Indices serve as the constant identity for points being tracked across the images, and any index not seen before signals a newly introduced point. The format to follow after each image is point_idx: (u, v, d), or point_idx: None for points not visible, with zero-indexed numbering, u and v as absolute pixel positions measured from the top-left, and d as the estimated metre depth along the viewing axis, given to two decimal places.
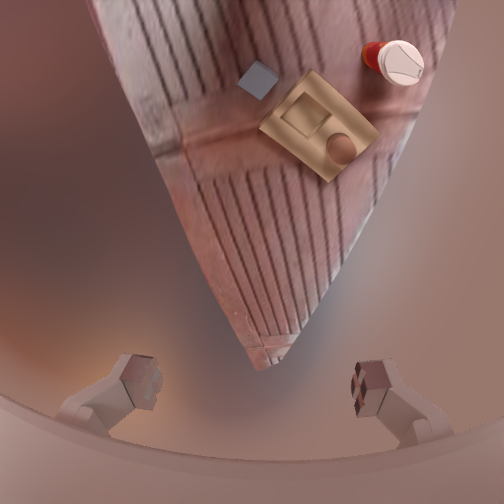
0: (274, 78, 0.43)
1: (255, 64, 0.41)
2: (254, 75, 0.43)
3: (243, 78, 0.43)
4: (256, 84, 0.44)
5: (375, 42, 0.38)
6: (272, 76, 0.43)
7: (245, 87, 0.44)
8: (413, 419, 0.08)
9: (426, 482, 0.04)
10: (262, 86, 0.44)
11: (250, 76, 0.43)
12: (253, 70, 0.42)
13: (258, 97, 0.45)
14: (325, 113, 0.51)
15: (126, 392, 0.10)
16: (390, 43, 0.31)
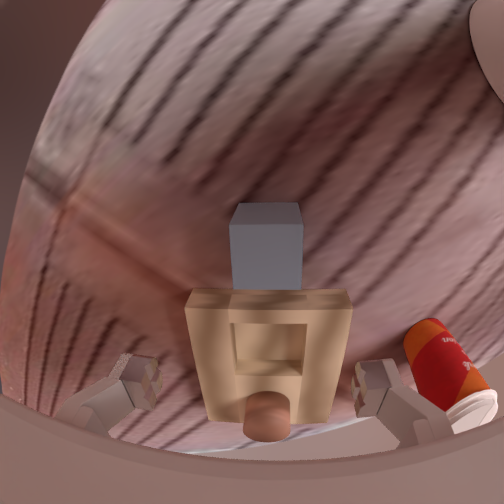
0: (297, 281, 0.21)
1: (299, 229, 0.20)
2: (275, 243, 0.20)
3: (251, 228, 0.20)
4: (258, 260, 0.21)
5: (450, 335, 0.26)
6: (298, 275, 0.21)
7: (235, 246, 0.21)
8: (413, 419, 0.08)
9: (426, 482, 0.04)
10: (262, 273, 0.21)
11: (266, 239, 0.20)
12: (282, 234, 0.20)
13: (236, 281, 0.22)
14: (292, 356, 0.31)
15: (126, 392, 0.10)
16: (488, 392, 0.17)
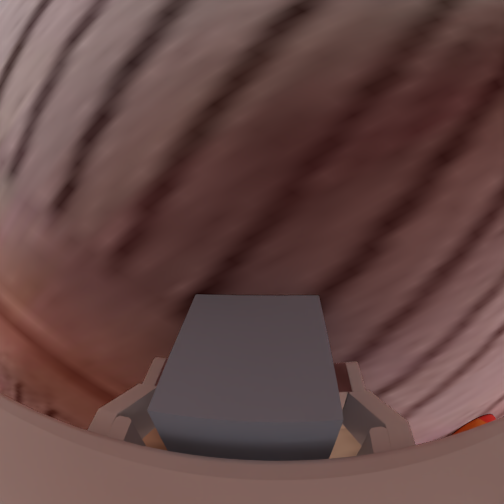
0: None
1: (331, 426, 0.06)
2: (266, 446, 0.07)
3: (204, 424, 0.07)
4: None
5: None
6: None
7: (173, 441, 0.07)
8: (373, 426, 0.08)
9: (426, 482, 0.04)
10: None
11: (244, 440, 0.07)
12: (285, 436, 0.07)
13: None
14: None
15: None
16: None
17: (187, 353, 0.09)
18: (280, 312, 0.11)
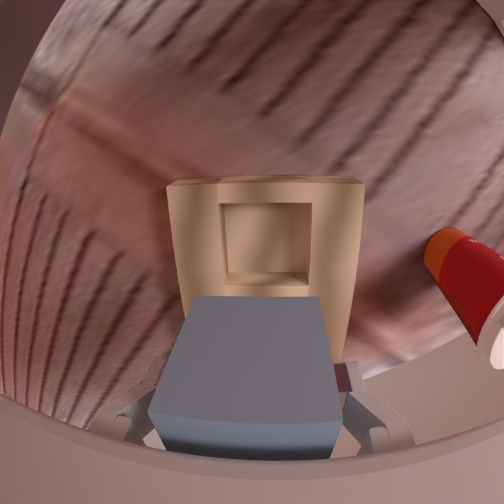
0: None
1: (331, 428, 0.06)
2: (266, 447, 0.07)
3: (204, 425, 0.07)
4: None
5: (476, 240, 0.21)
6: None
7: (173, 442, 0.07)
8: (373, 426, 0.08)
9: (426, 482, 0.04)
10: None
11: (243, 442, 0.07)
12: (284, 437, 0.07)
13: None
14: (295, 267, 0.27)
15: None
16: None
17: (187, 354, 0.09)
18: (280, 313, 0.11)
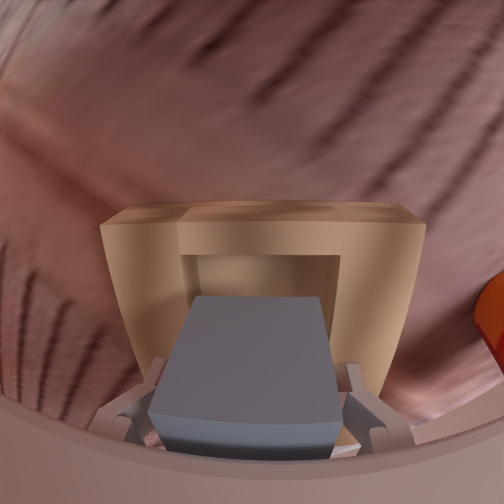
0: None
1: (331, 428, 0.06)
2: (266, 447, 0.07)
3: (204, 426, 0.07)
4: None
5: None
6: None
7: (172, 443, 0.07)
8: (373, 426, 0.08)
9: (426, 482, 0.04)
10: None
11: (243, 442, 0.07)
12: (284, 437, 0.07)
13: None
14: None
15: None
16: None
17: (187, 355, 0.09)
18: (280, 314, 0.11)
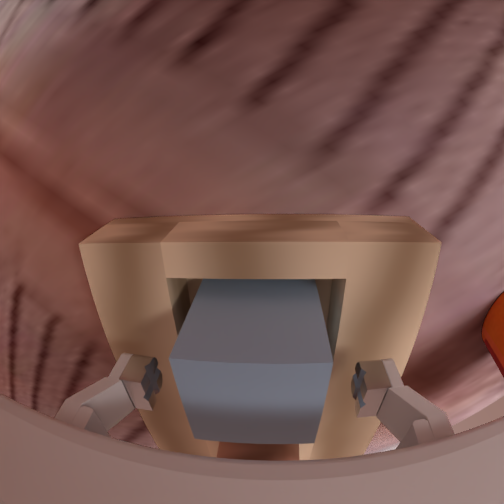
0: (308, 435, 0.10)
1: (323, 370, 0.08)
2: (269, 391, 0.09)
3: (217, 368, 0.09)
4: (235, 412, 0.09)
5: None
6: (311, 429, 0.10)
7: (188, 391, 0.09)
8: (413, 419, 0.08)
9: (426, 482, 0.04)
10: (245, 427, 0.10)
11: (250, 385, 0.09)
12: (284, 379, 0.09)
13: (198, 432, 0.10)
14: None
15: (126, 392, 0.10)
16: None
17: (201, 315, 0.11)
18: (279, 284, 0.13)
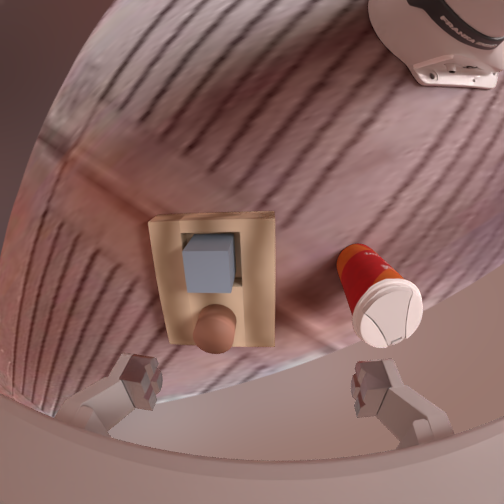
0: (227, 287, 0.33)
1: (225, 253, 0.31)
2: (211, 262, 0.32)
3: (195, 253, 0.31)
4: (201, 273, 0.32)
5: (375, 253, 0.34)
6: (228, 283, 0.32)
7: (186, 265, 0.32)
8: (413, 419, 0.08)
9: (426, 482, 0.04)
10: (205, 282, 0.32)
11: (205, 260, 0.32)
12: (215, 257, 0.31)
13: (189, 287, 0.33)
14: (236, 274, 0.39)
15: (126, 392, 0.10)
16: (404, 282, 0.25)
17: (192, 243, 0.33)
18: (220, 236, 0.36)
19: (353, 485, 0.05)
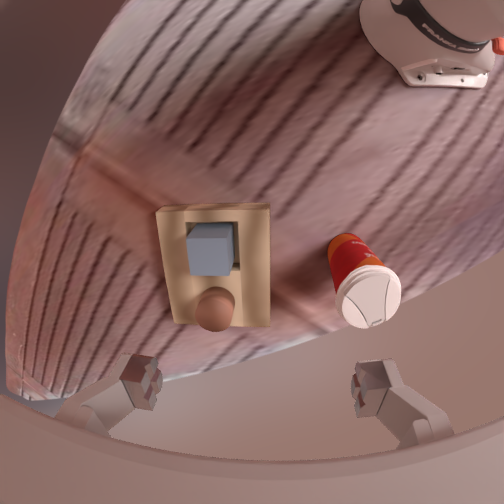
0: (226, 270, 0.37)
1: (224, 240, 0.35)
2: (211, 248, 0.36)
3: (198, 240, 0.35)
4: (203, 258, 0.36)
5: (362, 242, 0.38)
6: (226, 267, 0.36)
7: (190, 250, 0.36)
8: (413, 419, 0.08)
9: (426, 482, 0.04)
10: (206, 266, 0.37)
11: (206, 246, 0.36)
12: (215, 243, 0.35)
13: (191, 271, 0.37)
14: (235, 259, 0.43)
15: (126, 392, 0.10)
16: (382, 268, 0.29)
17: (195, 231, 0.37)
18: (220, 225, 0.39)
19: (353, 485, 0.05)
